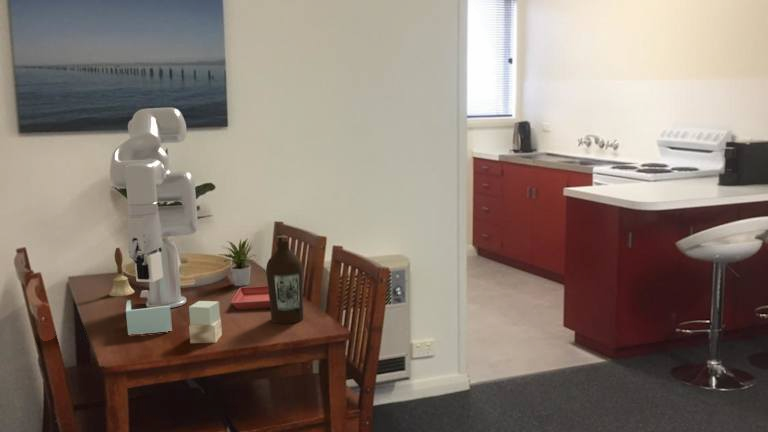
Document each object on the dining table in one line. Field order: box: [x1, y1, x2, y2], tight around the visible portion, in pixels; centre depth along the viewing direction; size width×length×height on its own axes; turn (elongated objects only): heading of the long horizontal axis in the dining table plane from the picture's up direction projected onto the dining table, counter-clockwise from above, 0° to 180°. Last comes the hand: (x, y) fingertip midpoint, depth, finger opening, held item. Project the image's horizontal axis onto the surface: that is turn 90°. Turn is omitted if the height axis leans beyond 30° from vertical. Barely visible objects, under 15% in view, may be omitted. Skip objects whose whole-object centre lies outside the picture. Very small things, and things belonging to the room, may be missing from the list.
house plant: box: [217, 237, 256, 287], centre depth 280 cm, size 14×14×16 cm
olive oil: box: [265, 235, 304, 325], centre depth 235 cm, size 11×11×25 cm
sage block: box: [188, 300, 221, 325], centre depth 221 cm, size 6×6×5 cm
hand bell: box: [108, 247, 136, 297], centre depth 273 cm, size 8×8×16 cm
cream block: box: [134, 252, 163, 283], centre depth 215 cm, size 5×5×7 cm
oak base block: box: [188, 317, 223, 344], centre depth 222 cm, size 7×7×5 cm
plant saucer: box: [230, 285, 270, 310], centre depth 257 cm, size 18×18×3 cm
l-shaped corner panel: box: [125, 299, 173, 335], centre depth 233 cm, size 12×12×8 cm
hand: (149, 275), depth 215 cm, fingers closed on cream block, 5 cm apart
